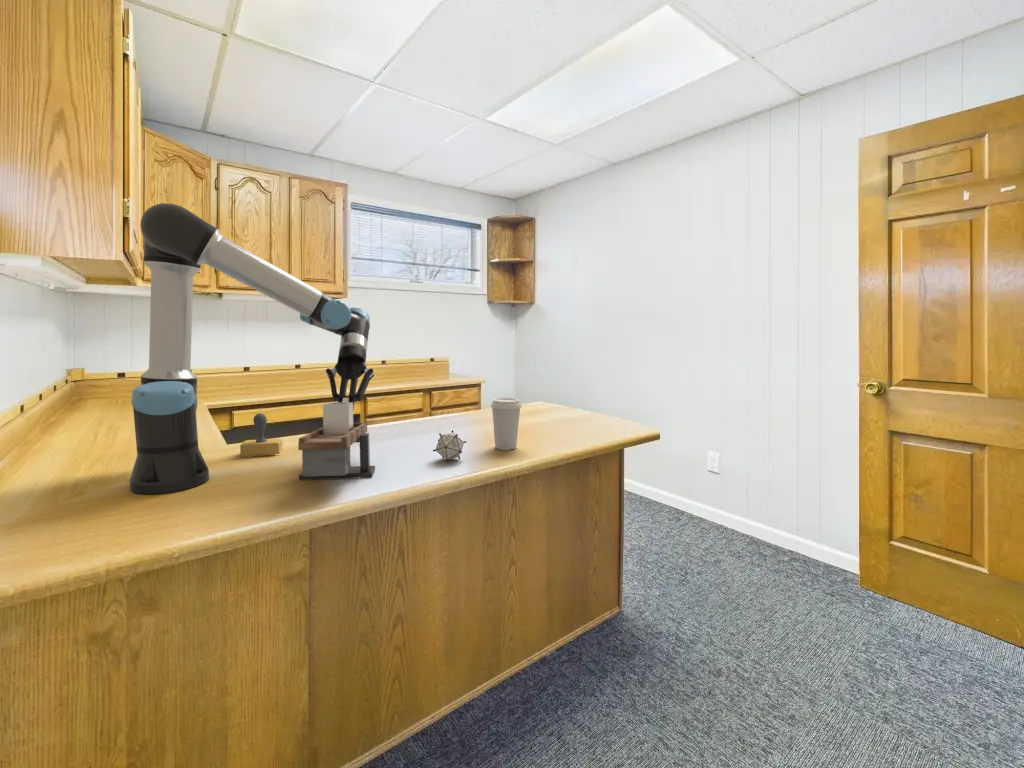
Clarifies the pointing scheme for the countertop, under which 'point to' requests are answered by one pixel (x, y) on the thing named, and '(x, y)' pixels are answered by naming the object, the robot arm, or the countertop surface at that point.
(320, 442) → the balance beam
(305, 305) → the robot arm
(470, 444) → the countertop surface
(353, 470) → the pivot stand
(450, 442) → the game die
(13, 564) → the countertop surface
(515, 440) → the coffee cup
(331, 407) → the light grey block
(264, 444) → the rubber stamp
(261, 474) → the countertop surface
